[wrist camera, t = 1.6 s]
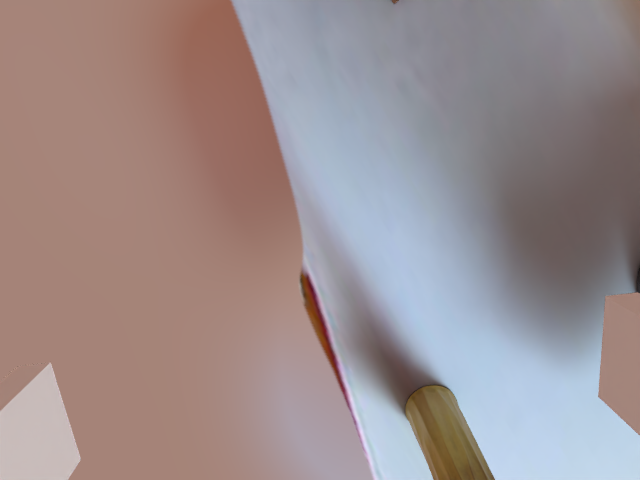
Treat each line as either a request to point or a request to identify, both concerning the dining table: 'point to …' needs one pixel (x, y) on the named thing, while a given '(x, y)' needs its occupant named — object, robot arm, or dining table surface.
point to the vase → (445, 436)
